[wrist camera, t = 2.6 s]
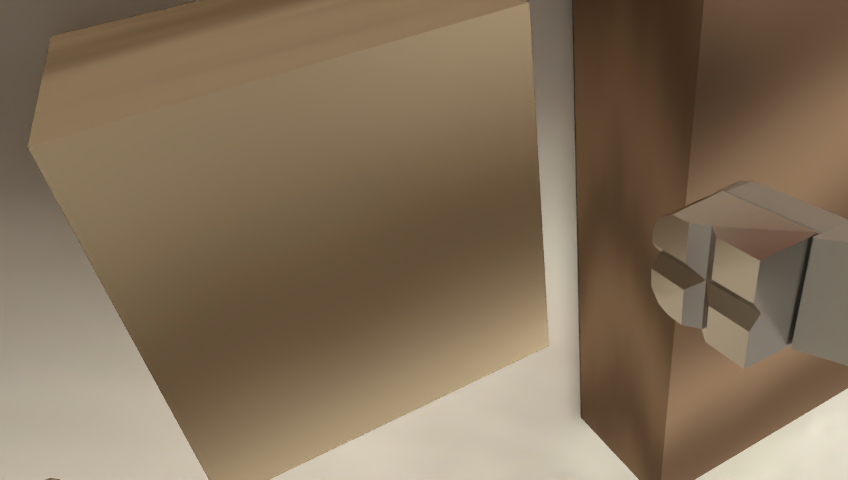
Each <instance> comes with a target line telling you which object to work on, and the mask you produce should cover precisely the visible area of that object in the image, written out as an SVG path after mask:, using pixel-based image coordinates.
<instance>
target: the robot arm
mask: <svg viewBox="0 0 848 480" xmlns="http://www.w3.org/2000/svg"><path fill="white" fill-rule="evenodd" d="M652 243H653V244H654V246H655V247H656V248H657V249H658V250H659V251H660V253H659V255H658V257H657V259H656V260H655V262H654V264H653V266H652V268H651V287H652V289H653V292H654V294H655V296H656V299H657V301H658V303H659V305H660V306H661V307H662V308H663V310H664V311H665V312H666V313H667V314H668V315H669V316H670V317H671V318H673V319H674V320H676V321H677V322H678V323H680V324H681V325H685V326H689V327H694V328H699V329H702V332H703V336H704V339H705V342H706V343H708V344H709V345H710V346H712V347H713V348H715V349H716V350H718V351H719V352H720V353H722V354H723V355H725V356H726V357H728V358H729V359H730V360H732V361H733V362H735V363H736V364H737V365H739V366H740V367H742V368H743V369H745V368H747V367H749V366H751V365H753V364H755V363H757V362H759V361H761V360H763V359H765V358H767V357H769V356H771V355H773V354H775V353H777V352H779V351H781V350H783V349H785V348H787V347H789V346H791V345H792V346H791V349H794V350H797V351H801V352H804V353H807V354H810V355H814V356H817V357H820V358H824V359H827V360H830V361H833V362H837V363H840V364H843V365H847V366H848V219H845V218H843V217H840V216H838V215H836V214H833V213H831V212H828V211H826V210H823V209H821V208H818V207H816V206H814V205H811V204H809V203H806V202H804V201H801V200H799V199H796V198H794V197H792V196H789V195H787V194H784V193H782V192H779V191H777V190H774V189H772V188H770V187H767V186H765V185H762V184H760V183H757V182H755V181H742V180H740V181H738V182H736V183H734V184H731V185H729V186H727V187H725V188H723V189H720V190H718V191H716V192H714V193H713V194H712V195H709V196H707V197H704V198H702V199H700V200H697V201H695V202H693V203H691V204H688V205H686V206H684V207H681V208H679V209H677V210H675V211H672V212H670V213H668V214H665V215H663V216H661V217H659V218H658V220H657V222H656V224H655V226H654V228H653V240H652ZM46 480H60V479H54V478H48V479H46Z"/></svg>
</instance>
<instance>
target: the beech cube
mask: <svg viewBox="0 0 848 480" xmlns="http://www.w3.org/2000/svg"><path fill="white" fill-rule="evenodd" d="M28 149H29V151H30V153H31V155H32V156H33V158H34V160H35V162H36V164H37V166H38V167H39V169H40V171H41V173H42V175H43V177H44V178H45V180H46V182H47V184H48V186H49V188H50V189H51V191H52V193H53V195H54V197H55V199H56V200H57V202H58V204H59V206H60V208H61V210H62V211H63V213H64V215H65V217H66V219H67V221H68V222H69V224H70V226H71V228H72V230H73V232H74V233H75V235H76V237H77V239H78V241H79V243H80V244H81V246H82V248H83V250H84V252H85V254H86V255H87V257H88V259H89V261H90V263H91V265H92V266H93V268H94V270H95V272H96V274H97V276H98V277H99V279H100V281H101V283H102V285H103V286H104V288H105V290H106V292H107V294H108V296H109V297H110V299H111V301H112V303H113V305H114V307H115V308H116V310H117V312H118V314H119V316H120V318H121V319H122V321H123V323H124V325H125V327H126V329H127V330H128V332H129V334H130V336H131V338H132V340H133V341H134V343H135V345H136V347H137V349H138V351H139V352H140V354H141V356H142V358H143V360H144V362H145V363H146V365H147V367H148V369H149V371H150V373H151V374H152V376H153V378H154V380H155V382H156V384H157V385H158V387H159V389H160V391H161V393H162V395H163V396H164V398H165V400H166V402H167V404H168V406H169V407H170V409H171V411H172V413H173V415H174V417H175V418H176V420H177V422H178V424H179V426H180V428H181V429H182V431H183V433H184V435H185V437H186V438H187V440H188V442H189V444H190V446H191V448H192V449H193V451H194V453H195V455H196V457H197V459H198V460H199V462H200V464H201V466H202V468H203V470H204V471H205V473H206V475H207V477H208V479H209V480H269V479H271V478H273V477H275V476H277V475H280V474H282V473H284V472H286V471H288V470H290V469H292V468H294V467H296V466H298V465H300V464H302V463H305V462H307V461H309V460H311V459H313V458H315V457H317V456H319V455H321V454H323V453H325V452H328V451H330V450H332V449H334V448H336V447H338V446H340V445H342V444H344V443H346V442H348V441H351V440H353V439H355V438H357V437H359V436H361V435H363V434H365V433H367V432H369V431H371V430H374V429H376V428H378V427H380V426H382V425H384V424H386V423H388V422H390V421H392V420H394V419H397V418H399V417H401V416H403V415H405V414H407V413H409V412H411V411H413V410H415V409H417V408H420V407H422V406H424V405H426V404H428V403H430V402H432V401H434V400H436V399H438V398H440V397H442V396H445V395H447V394H449V393H451V392H453V391H455V390H457V389H459V388H461V387H463V386H465V385H468V384H470V383H472V382H474V381H476V380H478V379H480V378H482V377H484V376H486V375H488V374H491V373H493V372H495V371H497V370H499V369H501V368H503V367H505V366H507V365H509V364H511V363H514V362H516V361H518V360H520V359H522V358H524V357H526V356H528V355H530V354H532V353H534V352H537V351H539V350H541V349H543V348H545V347H547V346H549V338H548V320H547V303H546V285H545V268H544V250H543V233H542V215H541V198H540V180H539V163H538V145H537V128H536V111H535V93H534V76H533V58H532V41H531V23H530V6H529V2H526V1H522V0H198V1H194V2H190V3H186V4H182V5H178V6H174V7H170V8H166V9H162V10H157V11H153V12H149V13H145V14H141V15H137V16H133V17H129V18H125V19H121V20H116V21H112V22H108V23H104V24H100V25H96V26H92V27H88V28H84V29H80V30H75V31H71V32H67V33H63V34H59V35H55V36H51V38H50V43H49V48H48V52H47V57H46V62H45V67H44V71H43V76H42V81H41V85H40V90H39V95H38V100H37V104H36V109H35V114H34V118H33V123H32V128H31V133H30V137H29V142H28Z"/></svg>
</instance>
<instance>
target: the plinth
mask: <svg viewBox="0 0 848 480" xmlns="http://www.w3.org/2000/svg"><path fill="white" fill-rule="evenodd" d="M573 21H574V71H575V121H576V171H577V221H578V270H579V320H580V370H581V418H582V419H583V420H584V421H585V422H586V423H587V424H588V425H589V426H590V428H591V429H592V430H593V431H594V432H595V433H596V434H597V435H598V436H599V437H600V438H601V439H602V440H603V441H604V443H605V444H606V445H607V446H608V447H609V448H610V449H611V450H612V451H613V452H614V453H615V454H616V455H617V456H618V458H619V459H620V460H621V461H622V462H623V463H624V464H625V465H626V466H627V467H628V468H629V469H630V470H631V471H632V472H633V474H634V475H635V476H636V477H637V478H638V479H639V480H695V479H696V478H698V477H700V476H701V475H703V474H705V473H706V472H708V471H710V470H712V469H713V468H715V467H717V466H718V465H720V464H722V463H723V462H725V461H727V460H728V459H730V458H732V457H733V456H735V455H737V454H738V453H740V452H742V451H743V450H745V449H747V448H748V447H750V446H752V445H753V444H755V443H757V442H758V441H760V440H762V439H763V438H765V437H767V436H768V435H770V434H772V433H773V432H775V431H777V430H778V429H780V428H782V427H784V426H785V425H787V424H789V423H790V422H792V421H794V420H795V419H797V418H799V417H800V416H802V415H804V414H805V413H807V412H809V411H810V410H812V409H814V408H815V407H817V406H819V405H820V404H822V403H824V402H825V401H827V400H829V399H830V398H832V397H834V396H835V395H837V394H839V393H840V392H842V391H844V390H845V389H847V388H848V366H847V365H843V364H840V363H837V362H833V361H830V360H827V359H824V358H820V357H817V356H814V355H810V354H807V353H804V352H801V351H797V350H794V349H791V346H792V345H791V346H789V347H787V348H785V349H783V350H781V351H779V352H777V353H775V354H773V355H771V356H769V357H767V358H765V359H763V360H761V361H759V362H757V363H755V364H753V365H751V366H749V367H747V368H745V369H743V368H742V367H740V366H739V365H737V364H736V363H735V362H733V361H732V360H730V359H729V358H728V357H726V356H725V355H723V354H722V353H720V352H719V351H718V350H716V349H715V348H713V347H712V346H710V345H709V344H708V343H706V342H705V339H704V336H703V332H702V329H699V328H694V327H689V326H685V325H681V324H680V323H678V322H677V321H676V320H674V319H673V318H671V317H670V316H669V315H668V314H667V313H666V312H665V311H664V310H663V308H662V307H661V306H660V305H659V303H658V301H657V299H656V296H655V294H654V292H653V289H652V287H651V268H652V266H653V264H654V262H655V260H656V259H657V257H658V255H659V253H660V251H659V250H658V249H657V248H656V247H655V246H654V244H653V243H652V240H653V228H654V226H655V224H656V222H657V220H658V218H659V217H661V216H663V215H665V214H668V213H670V212H672V211H675V210H677V209H679V208H681V207H684V206H686V205H688V204H691V203H693V202H695V201H697V200H700V199H702V198H704V197H707V196H709V195H712V194H713V193H714V192H716V191H718V190H720V189H723V188H725V187H727V186H729V185H731V184H734V183H736V182H738V181H740V180H742V181H755V182H757V183H760V184H762V185H765V186H767V187H770V188H772V189H774V190H777V191H779V192H782V193H784V194H787V195H789V196H792V197H794V198H796V199H799V200H801V201H804V202H806V203H809V204H811V205H814V206H816V207H818V208H821V209H823V210H826V211H828V212H831V213H833V214H836V215H838V216H840V217H843V218H845V219H848V0H573Z"/></svg>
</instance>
